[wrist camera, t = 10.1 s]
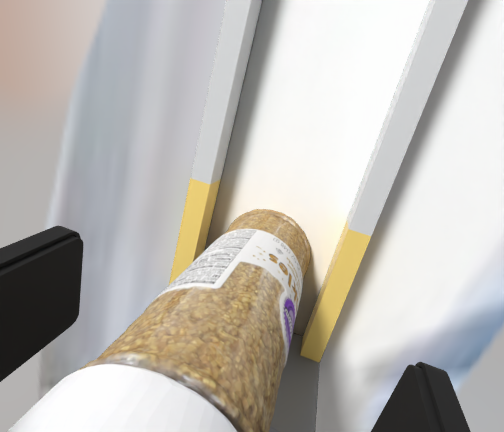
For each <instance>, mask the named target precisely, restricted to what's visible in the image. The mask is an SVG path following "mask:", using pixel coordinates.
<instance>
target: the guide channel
mask: <svg viewBox="0 0 504 432" xmlns="http://www.w3.org/2000/svg"><path fill="white" fill-rule="evenodd" d="M467 2H468V0H430V1H429V4H428V7H427V9H426V12H425V15H424V17H423V20H422V23H421V25H420V28H419V31H418V33H417V36H416V38H415V41H414V44H413V46H412V49H411V52H410V54H409V57H408V60H407V62H406V65H405V68H404V70H403V73H402V76H401V78H400V81H399V84H398V86H397V89H396V91H395V94H394V97H393V99H392V102H391V105H390V107H389V110H388V113H387V115H386V118H385V121H384V123H383V126H382V129H381V131H380V134H379V137H378V139H377V142H376V144H375V147H374V150H373V152H372V155H371V158H370V160H369V163H368V166H367V168H366V171H365V174H364V176H363V179H362V182H361V184H360V187H359V190H358V192H357V195H356V198H355V200H354V203H353V205H352V208H351V211H350V213H349V216H348V219H347V221H346V224H345V227H344V229H343V232H342V235H341V237H340V240H339V243H338V245H337V248H336V251H335V253H334V256H333V258H332V261H331V264H330V266H329V269H328V272H327V274H326V277H325V280H324V282H323V285H322V288H321V290H320V293H319V296H318V298H317V301H316V304H315V306H314V309H313V311H312V314H311V317H310V319H309V322H308V325H307V327H306V330H305V333H304V335H303V337H302V336H299V335H297V334H294V333H292V338H291V343H290V347H289V352H288V357H287V361H286V365H285V367H284V369H283V371H282V374H281V379H280V385H279V388H278V394H277V399H276V404H275V410H274V414H273V418H272V421H271V425H270V430H269V432H315V424H316V409H317V394H318V378H319V363H320V360H321V358H322V355H323V353H324V351H325V348H326V346H327V343H328V341H329V338H330V336H331V333H332V331H333V329H334V326H335V324H336V321H337V319H338V316H339V314H340V312H341V309H342V307H343V304H344V302H345V299H346V297H347V295H348V292H349V290H350V287H351V285H352V282H353V280H354V277H355V275H356V273H357V270H358V268H359V265H360V263H361V260H362V258H363V256H364V253H365V251H366V248H367V246H368V243H369V241H370V238H371V236H372V234H373V231H374V229H375V226H376V224H377V221H378V219H379V217H380V214H381V212H382V209H383V207H384V204H385V202H386V199H387V197H388V195H389V192H390V190H391V187H392V185H393V182H394V180H395V178H396V175H397V173H398V170H399V168H400V165H401V163H402V161H403V158H404V156H405V153H406V151H407V148H408V146H409V143H410V141H411V139H412V136H413V134H414V131H415V129H416V126H417V124H418V122H419V119H420V117H421V114H422V112H423V109H424V107H425V104H426V102H427V100H428V97H429V95H430V92H431V90H432V87H433V85H434V83H435V80H436V78H437V75H438V73H439V70H440V68H441V66H442V63H443V61H444V58H445V56H446V53H447V51H448V48H449V46H450V44H451V41H452V39H453V36H454V34H455V31H456V29H457V27H458V24H459V22H460V19H461V17H462V14H463V12H464V9H465V7H466V5H467ZM261 4H262V0H226V3H225V8H224V13H223V18H222V23H221V28H220V33H219V38H218V43H217V48H216V53H215V58H214V63H213V68H212V73H211V78H210V83H209V88H208V93H207V98H206V103H205V108H204V113H203V118H202V123H201V128H200V133H199V138H198V143H197V148H196V153H195V158H194V163H193V168H192V173H191V178H190V183H189V188H188V193H187V198H186V203H185V208H184V213H183V217H182V222H181V227H180V232H179V237H178V242H177V247H176V252H175V257H174V262H173V267H172V272H171V277H170V282H169V285H170V284H171V283H172V282H173V281H174V280H175V279H176V278H177V277H178V276H179V275H180V274H181V273H182V272H183V271H184V270H185V269H186V268H187V267H188V266H190V265H191V264H192V263H193V262H194V261H195V260H196V259H197V258H198V257H199V256H200V255H201V254H202V253H203V252H204V249H205V245H206V241H207V236H208V232H209V228H210V223H211V219H212V215H213V210H214V206H215V202H216V197H217V193H218V189H219V185H220V180H221V176H222V172H223V167H224V163H225V159H226V154H227V150H228V146H229V141H230V137H231V133H232V129H233V124H234V120H235V116H236V111H237V107H238V103H239V98H240V94H241V90H242V85H243V81H244V77H245V73H246V68H247V64H248V60H249V55H250V51H251V47H252V42H253V38H254V34H255V29H256V25H257V21H258V17H259V12H260V8H261Z"/></svg>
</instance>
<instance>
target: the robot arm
mask: <svg viewBox="0 0 504 432" xmlns="http://www.w3.org/2000/svg"><path fill="white" fill-rule="evenodd" d="M82 258H83V241H82V240H81V239H80V235H79V233H77V232H75V231H73V230H70V229H67V228H65V227H62V226H55V227H52V228H50V229H47V230H45V231H43V232H40V233H38V234H35V235H33V236H30V237H28V238H25V239H23V240H20V241H18V242H16V243H13V244H10V245H8V246H6V247H3V248H0V382H1V381H2V380H3V379H5V378H6V377H7V376H8V375H10V374H11V373H12V372H13V371H15V370H16V369H17V368H18V367H20V366H21V365H22V364H24V363H25V362H26V361H27V360H29V359H30V358H31V357H32V356H33V355H35V354H36V353H37V352H39V351H40V350H41V349H43V348H44V347H45V346H46V345H48V344H49V343H50V342H51V341H53V340H54V339H55V338H56V337H58V336H59V335H60V334H61V333H63V332H64V331H65V330H66V329H68V328H69V327H70V326H71V325H72V324H74V322H75V321H76V319H77V317H78V315H79V304H80V289H81V273H82ZM371 432H470V429H469V427H468V424H467V422H466V419H465V417H464V414H463V411H462V409H461V406H460V404H459V401H458V399H457V396H456V394H455V391H454V389H453V386H452V384H451V381H450V379H449V376H448V374H447V372H445V371H444V370H441V369H439V368H436V367H433V366H431V365H428V364H425V363H423V362H418V363H417V364H416V365H415V366H414V365H409V366H407V368H406V370H405V371H404V373H403V375H402V377H401V379H400V380H399V382H398V384H397V386H396V388H395V389H394V391H393V393H392V395H391V397H390V398H389V400H388V402H387V404H386V406H385V407H384V409H383V411H382V413H381V415H380V416H379V418H378V420H377V422H376V424H375V425H374V427H373V429H372V431H371Z"/></svg>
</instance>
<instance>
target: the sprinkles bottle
mask: <svg viewBox="0 0 504 432" xmlns="http://www.w3.org/2000/svg"><path fill="white" fill-rule="evenodd" d="M309 261H310V245H309V243H308V240H307V237H306V235H305V233H304V231H303V230H302V229H301V228H300V227H299V225H298V224H297V223H296V222H295V221H294V220H293V219H291V218H290V217H288V216H286V215H285V214H283V213H280V212H276V211H273V210H266V209H255V210H253V211H250V212H247V213H244V214H243V215H241V216H239V217H238V218H237V219H235V220H234V222H233V223H232V224H231V225H230V227H229V228H228V231H227V232H225V234H224V235H222V236H221V237H219V238H218V239H217V240H215V241H214V242H213V243H212V244H211V245H210V246H209V247H208V248H207V249H206V250H205V251H204V252H203V253H202V254H201V255H200V256H199V257H198V258H197V259H196V260H195V261H194V262H193V263H192V264H191V265H190V266H188V267H187V268H186V269H185V270H184V271H183V272H182V273H181V274H180V275H179V276H178V277H177V278H176V279H175V280H174V281H173V282H172V283H171V284H170V285H169V286H168V287H167V288H166V289H165V290H164V291H163V292H161V293H160V294H159V295H158V296H157V297H156V298H155V299H154V300H153V301H152V302H151V304H150V305H149V306H148V307H147V308H146V310H145V311H144V313H143V314H142V315H141V316H140V317H139V318H138V319H137V320H136V321H134V322H133V323H132V324H131V325H130V326H129V327H128V328H127V330H126V331H125V332H124V333H123V334H122V335H121V336H120V337H119V338H118V339H117V340H115V341H114V342H113V344H112V345H110V346H109V347H108V348H107V349H106V350H105V351H104V353H103V354H102V355H101V356H99V357H98V358H97V360H94V361H91V362H89V363H87V364H86V365H85V366H84V367H82V368H80V369H79V370H78V371H76V372H74V373H72V374H70V375H68V376H67V377H65V378H63V379H62V380H61V381H60V382H59V383H58V384H57V385H55V386H54V387H53V388H52V389H51V390H50V391H49V392H48V393H47V394H46V395H45V396H44V397H43V398H42V399H40V400H39V401H38V402H37V403H36V404H35V405H34V406H33V407H32V408H31V409H30V410H29V411H28V412H27V413H26V414H25V415H24V416H23V417H21V418H20V419H19V420H18V421H17V422H16V423H15V424H14V425H13V426H12V427H11V428H10V429H9V430H8V431H7V432H269V430H270V425H271V421H272V418H273V414H274V410H275V404H276V399H277V394H278V388H279V385H280V379H281V374H282V371H283V369H284V367H285V365H286V361H287V357H288V352H289V347H290V343H291V338H292V333H293V328H294V323H295V319H296V314H297V311H298V306H299V302H300V298H301V294H302V287H303V277H304V275H305V273H306V271H307V269H308V266H309Z"/></svg>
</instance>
